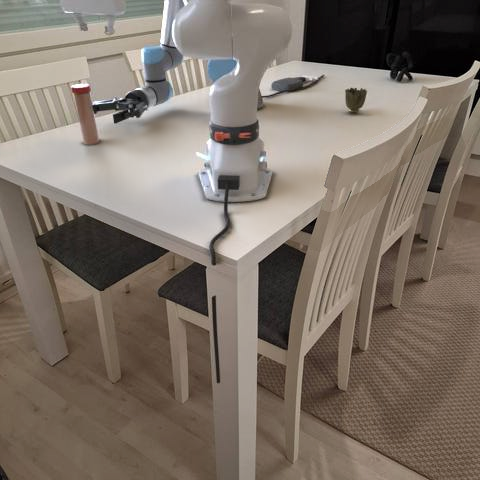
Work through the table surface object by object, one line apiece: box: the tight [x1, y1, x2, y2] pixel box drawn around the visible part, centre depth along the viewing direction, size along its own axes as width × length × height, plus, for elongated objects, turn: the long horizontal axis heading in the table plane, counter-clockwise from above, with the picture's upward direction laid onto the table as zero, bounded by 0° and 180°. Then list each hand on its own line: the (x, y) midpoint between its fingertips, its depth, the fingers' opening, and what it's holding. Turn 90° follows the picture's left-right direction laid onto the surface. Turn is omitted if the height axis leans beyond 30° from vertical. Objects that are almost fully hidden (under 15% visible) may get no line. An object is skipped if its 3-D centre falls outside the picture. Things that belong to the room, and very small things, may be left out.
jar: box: [72, 91, 100, 146], centre depth 133 cm, size 5×5×16 cm
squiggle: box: [385, 51, 414, 83], centre depth 198 cm, size 11×10×15 cm
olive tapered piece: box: [344, 87, 368, 115], centre depth 156 cm, size 8×7×8 cm
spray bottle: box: [270, 75, 319, 92], centre depth 194 cm, size 3×11×24 cm
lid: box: [70, 83, 91, 94], centre depth 129 cm, size 5×5×2 cm
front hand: (96, 32), depth 122 cm, fingers open, 8 cm apart
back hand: (97, 116), depth 139 cm, fingers open, 13 cm apart
